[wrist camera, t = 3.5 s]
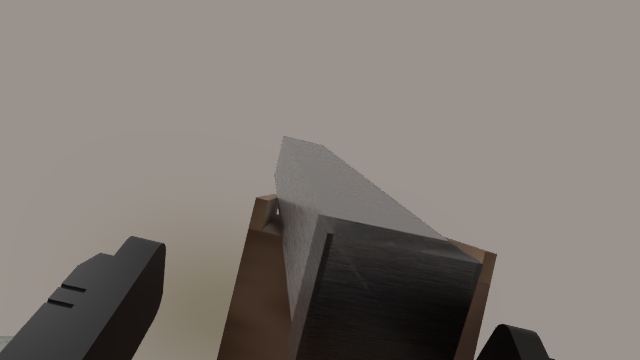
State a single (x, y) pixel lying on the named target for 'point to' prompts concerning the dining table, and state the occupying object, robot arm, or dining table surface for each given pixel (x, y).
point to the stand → (273, 301)
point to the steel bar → (364, 267)
